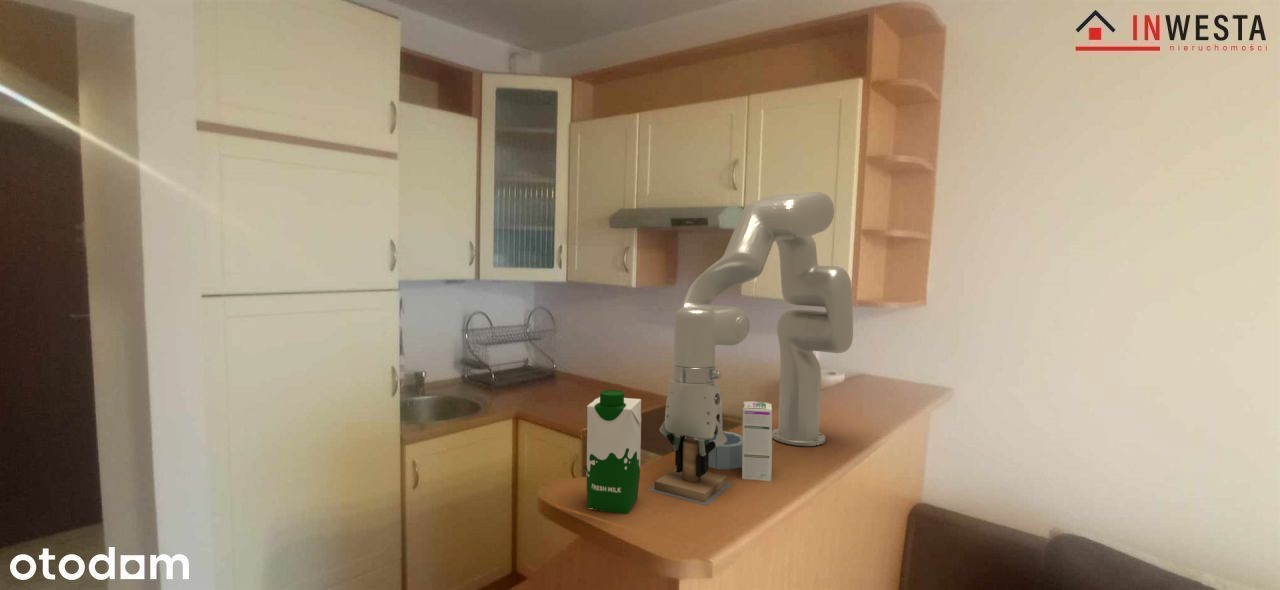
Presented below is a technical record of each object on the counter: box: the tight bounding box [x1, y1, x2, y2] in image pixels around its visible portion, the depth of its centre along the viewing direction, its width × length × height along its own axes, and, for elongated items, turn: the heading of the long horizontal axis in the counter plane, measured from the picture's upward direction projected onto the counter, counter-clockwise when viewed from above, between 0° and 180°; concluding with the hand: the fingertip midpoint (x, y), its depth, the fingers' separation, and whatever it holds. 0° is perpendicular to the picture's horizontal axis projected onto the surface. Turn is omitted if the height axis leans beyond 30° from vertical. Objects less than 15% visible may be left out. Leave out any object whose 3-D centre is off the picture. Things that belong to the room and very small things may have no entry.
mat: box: [647, 481, 734, 507], centre depth 104 cm, size 12×12×1 cm
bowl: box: [693, 430, 742, 470], centre depth 119 cm, size 11×11×5 cm
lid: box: [654, 438, 728, 502], centre depth 104 cm, size 10×10×8 cm
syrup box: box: [741, 400, 773, 482], centre depth 110 cm, size 6×6×14 cm
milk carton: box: [586, 389, 642, 515], centre depth 96 cm, size 9×9×20 cm
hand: (691, 471), depth 104 cm, fingers closed on lid, 3 cm apart
